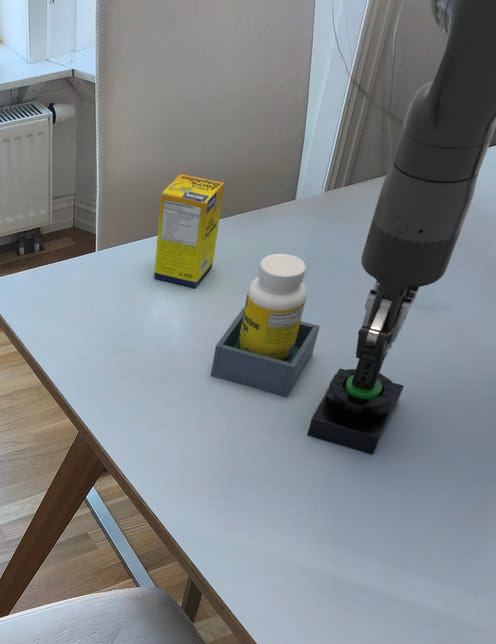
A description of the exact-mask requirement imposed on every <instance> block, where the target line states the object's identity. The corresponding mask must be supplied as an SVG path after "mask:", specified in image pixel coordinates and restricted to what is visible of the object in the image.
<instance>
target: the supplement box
mask: <svg viewBox="0 0 496 644" xmlns="http://www.w3.org/2000/svg"><path fill="white" fill-rule="evenodd" d="M224 187H225V182H222V181H217V180H212V179H206V178H202V177H198V176H192V175H187V174H183V173H180V174H179V175H178V176H176V178H174V180H173V181H172V182H171V183H170V184H169V185H168V186H167V187H166V188H165V189H164V190H163V191H162V193H161V196H160V205H159V206H160V207H159V219H158V227H157V238H156V249H155V260H154V261H155V262H154V274H153V279H159V280H163V281H166V282H171V283H175V284H179V285H184V286H187V287H192V288H197V287H198V286H199V284H200V283H201V281H202V280H203V279H204V278H205V276H207V274H208V273H209V272H210V270H211V269H212V268H213V264H214V257H215V250H216V244H217V237H218V231H219V224H220V218H221V217H220V216H221V210H222V203H223V197H224Z"/></svg>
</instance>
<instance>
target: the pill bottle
mask: <svg viewBox="0 0 496 644" xmlns="http://www.w3.org/2000/svg"><path fill="white" fill-rule="evenodd" d="M258 269H259V270H258V276H257V277H256V278H254V279H253V280H252V281H251V283H250V284H249V287H248V290H247V294H246V299H245V305H244V307H245V309H244V315H243V320H242V325H241V330H240V336H239V340H238V347H237V349H241V350H245V351H248V352H252V353H256V354H259V355H263V356H267V357H270V358H274V359H278V360H282V361H285V362H289V361H290V359H291V356H292V353H293V349H294V345H295V341H296V337H297V333H298V329H299V325H300V321H302V317H303V312H304V308H305V305H306V300H307V296H308V295H307V288H306V286H305V284H304V283H303V281H304V279H305V278H304V277H305V273H306V269H307V267H306V264H305V262H304V261H303V260H302V258H299V257H298V256H295V255H292V254H289V253H273V254H270V255H267V256H265V257H264V258H263V259H262V260H261V262H260V264H259V268H258Z"/></svg>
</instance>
